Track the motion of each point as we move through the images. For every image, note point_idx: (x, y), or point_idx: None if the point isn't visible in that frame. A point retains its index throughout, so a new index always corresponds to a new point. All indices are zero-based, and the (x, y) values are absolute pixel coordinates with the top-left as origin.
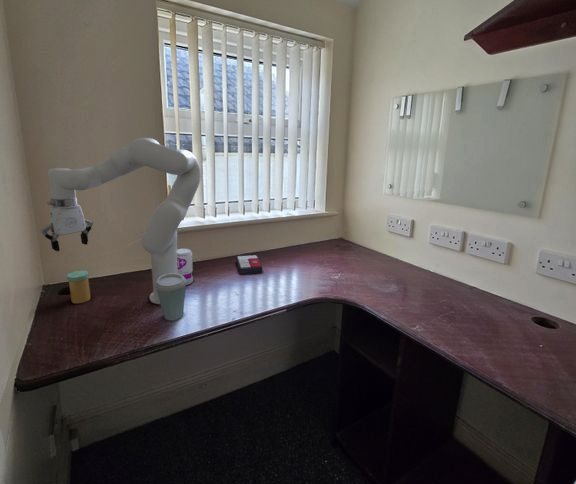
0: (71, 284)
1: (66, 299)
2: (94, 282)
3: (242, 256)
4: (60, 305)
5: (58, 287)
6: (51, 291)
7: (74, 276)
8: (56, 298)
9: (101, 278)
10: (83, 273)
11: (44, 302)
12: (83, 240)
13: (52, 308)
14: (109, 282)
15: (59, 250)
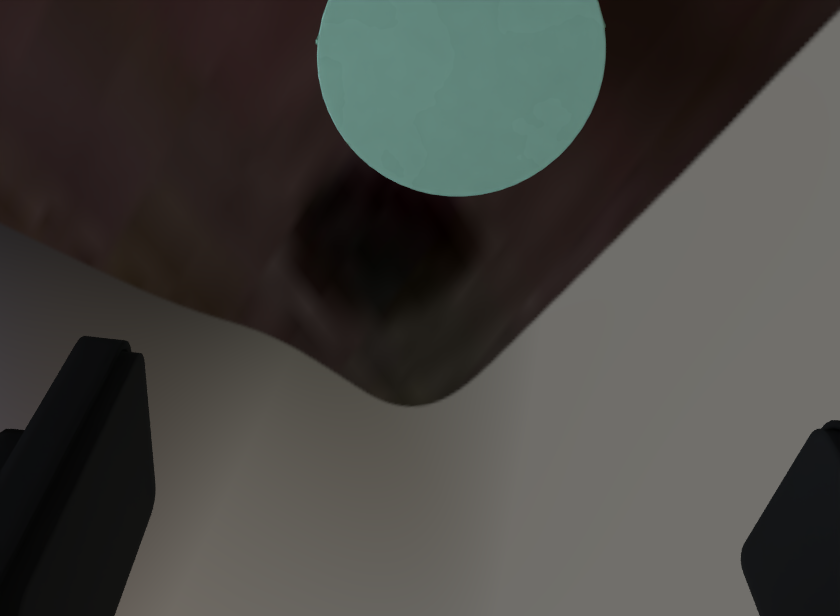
0: None
1: None
2: (153, 212)
3: None
4: (626, 30)
5: (397, 361)
6: (470, 340)
7: (553, 14)
8: (539, 195)
9: (63, 235)
10: (405, 6)
11: (633, 209)
12: (112, 500)
13: (698, 37)
14: (45, 85)
15: (824, 427)
